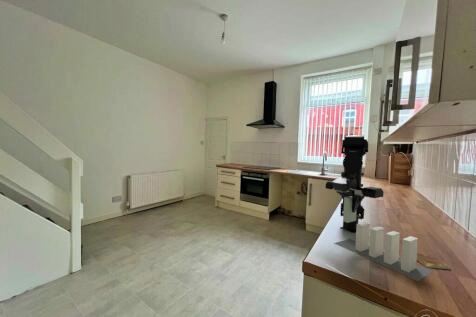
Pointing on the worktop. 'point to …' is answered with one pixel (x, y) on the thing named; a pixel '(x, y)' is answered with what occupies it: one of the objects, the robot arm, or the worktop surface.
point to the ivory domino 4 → (409, 253)
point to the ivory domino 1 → (362, 236)
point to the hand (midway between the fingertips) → (350, 211)
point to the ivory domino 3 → (391, 247)
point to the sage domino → (348, 210)
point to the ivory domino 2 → (376, 241)
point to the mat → (414, 274)
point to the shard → (431, 262)
